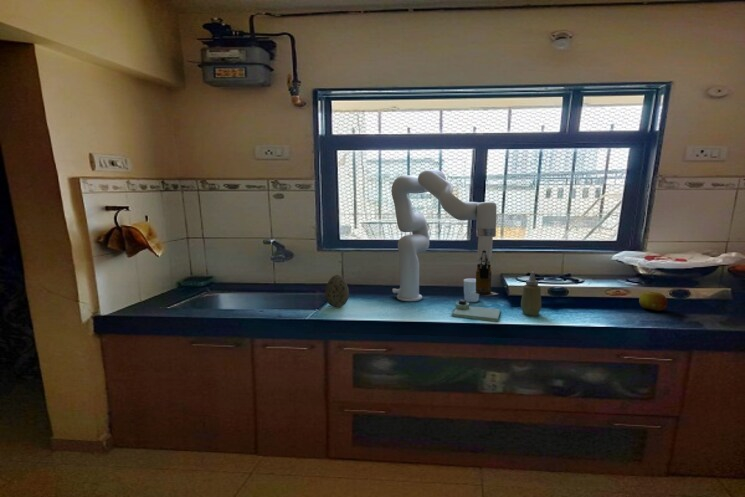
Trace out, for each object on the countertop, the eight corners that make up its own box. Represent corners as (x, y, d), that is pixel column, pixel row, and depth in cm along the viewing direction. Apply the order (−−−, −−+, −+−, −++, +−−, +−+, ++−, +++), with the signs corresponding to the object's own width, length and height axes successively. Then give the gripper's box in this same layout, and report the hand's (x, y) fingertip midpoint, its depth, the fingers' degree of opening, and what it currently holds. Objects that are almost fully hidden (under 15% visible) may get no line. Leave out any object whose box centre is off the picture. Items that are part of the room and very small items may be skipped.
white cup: (478, 298, 173) (478, 278, 171) (481, 302, 165) (482, 282, 164) (461, 298, 173) (462, 278, 172) (464, 302, 166) (464, 281, 164)
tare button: (458, 304, 153) (458, 301, 153) (459, 303, 156) (459, 299, 156) (465, 305, 152) (465, 301, 152) (466, 303, 155) (466, 299, 155)
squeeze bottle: (532, 318, 143) (534, 274, 140) (516, 312, 150) (517, 271, 147) (545, 315, 146) (547, 272, 144) (529, 309, 153) (530, 269, 151)
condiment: (483, 289, 149) (484, 262, 148) (498, 294, 142) (499, 265, 140) (470, 292, 146) (470, 263, 145) (485, 296, 139) (486, 266, 137)
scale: (451, 316, 146) (451, 309, 146) (456, 307, 158) (456, 301, 158) (497, 321, 139) (498, 314, 139) (500, 312, 151) (500, 305, 150)
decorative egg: (344, 302, 168) (343, 272, 166) (352, 308, 159) (352, 276, 157) (322, 305, 164) (321, 274, 162) (330, 312, 154) (329, 278, 152)
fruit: (663, 308, 152) (665, 290, 151) (669, 314, 144) (671, 295, 143) (636, 306, 157) (638, 288, 156) (640, 311, 149) (642, 293, 148)
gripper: (479, 231, 151) (478, 272, 153) (473, 234, 135) (472, 280, 137) (497, 231, 148) (496, 273, 150) (494, 235, 132) (492, 281, 134)
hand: (485, 276), depth 144 cm, fingers closed on condiment, 6 cm apart
